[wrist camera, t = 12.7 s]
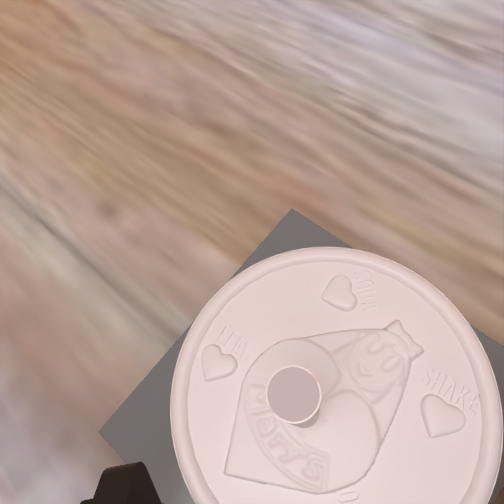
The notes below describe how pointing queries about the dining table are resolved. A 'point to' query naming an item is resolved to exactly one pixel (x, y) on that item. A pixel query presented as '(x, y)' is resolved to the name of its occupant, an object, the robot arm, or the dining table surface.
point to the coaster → (161, 376)
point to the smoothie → (334, 389)
